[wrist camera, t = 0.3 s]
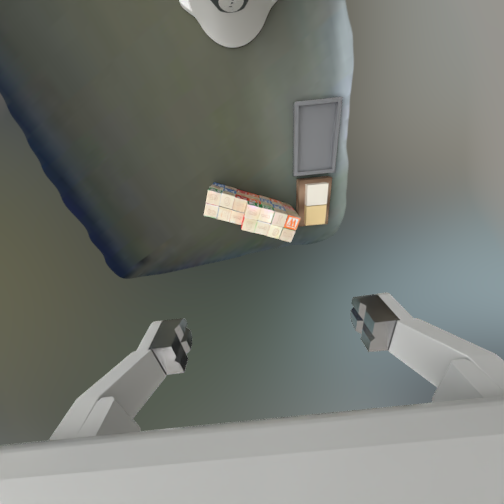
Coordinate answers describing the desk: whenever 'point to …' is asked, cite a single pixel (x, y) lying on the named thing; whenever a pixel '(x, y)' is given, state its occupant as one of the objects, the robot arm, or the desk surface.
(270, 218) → the stack of blocks
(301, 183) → the walnut ledge
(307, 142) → the tray
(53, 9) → the desk surface
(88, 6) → the desk surface
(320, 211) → the ochre tile
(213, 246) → the desk surface
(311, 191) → the cream tile
